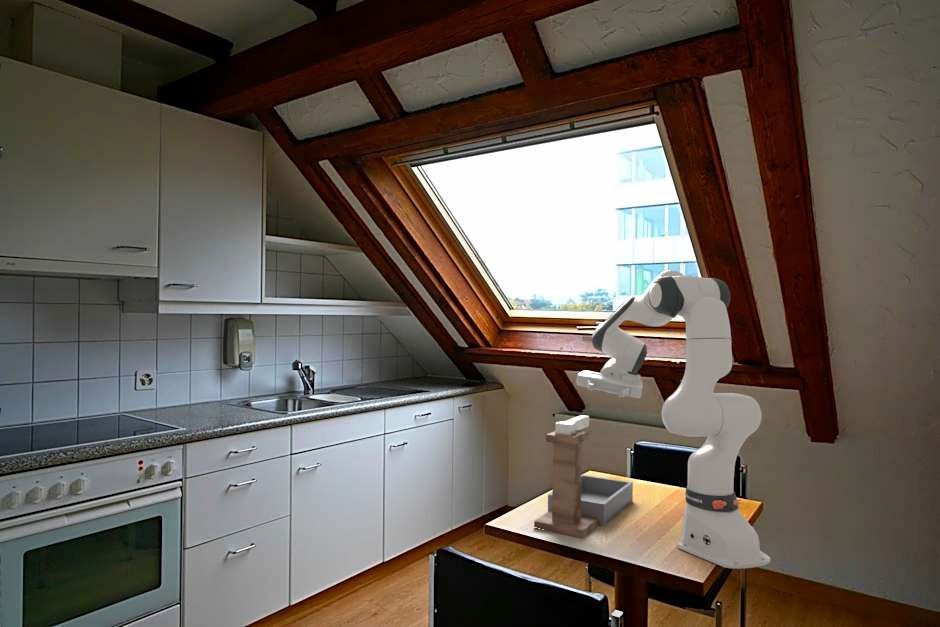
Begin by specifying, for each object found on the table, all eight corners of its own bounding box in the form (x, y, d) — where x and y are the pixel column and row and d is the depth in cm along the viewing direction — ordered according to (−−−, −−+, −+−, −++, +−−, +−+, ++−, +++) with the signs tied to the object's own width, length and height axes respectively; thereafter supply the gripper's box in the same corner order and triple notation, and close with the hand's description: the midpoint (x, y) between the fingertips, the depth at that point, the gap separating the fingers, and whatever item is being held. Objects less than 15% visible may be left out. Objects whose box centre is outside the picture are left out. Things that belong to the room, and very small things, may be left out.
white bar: (578, 424, 188) (578, 414, 188) (592, 426, 186) (592, 416, 186) (555, 434, 173) (555, 423, 173) (570, 435, 171) (570, 424, 171)
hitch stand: (551, 516, 184) (552, 427, 184) (598, 525, 177) (599, 432, 177) (534, 528, 174) (535, 433, 174) (582, 538, 167) (583, 439, 167)
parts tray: (581, 492, 209) (581, 474, 208) (632, 501, 200) (632, 482, 200) (547, 515, 185) (548, 494, 185) (603, 525, 177) (604, 504, 177)
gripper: (581, 363, 207) (573, 374, 194) (645, 376, 200) (641, 388, 187) (578, 381, 208) (570, 393, 195) (642, 394, 201) (638, 408, 189)
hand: (605, 391), depth 191 cm, fingers open, 8 cm apart
